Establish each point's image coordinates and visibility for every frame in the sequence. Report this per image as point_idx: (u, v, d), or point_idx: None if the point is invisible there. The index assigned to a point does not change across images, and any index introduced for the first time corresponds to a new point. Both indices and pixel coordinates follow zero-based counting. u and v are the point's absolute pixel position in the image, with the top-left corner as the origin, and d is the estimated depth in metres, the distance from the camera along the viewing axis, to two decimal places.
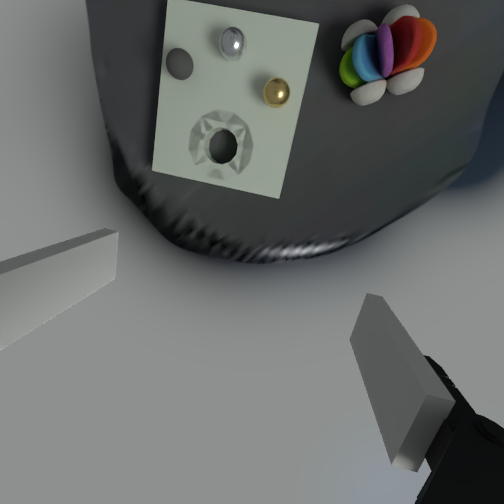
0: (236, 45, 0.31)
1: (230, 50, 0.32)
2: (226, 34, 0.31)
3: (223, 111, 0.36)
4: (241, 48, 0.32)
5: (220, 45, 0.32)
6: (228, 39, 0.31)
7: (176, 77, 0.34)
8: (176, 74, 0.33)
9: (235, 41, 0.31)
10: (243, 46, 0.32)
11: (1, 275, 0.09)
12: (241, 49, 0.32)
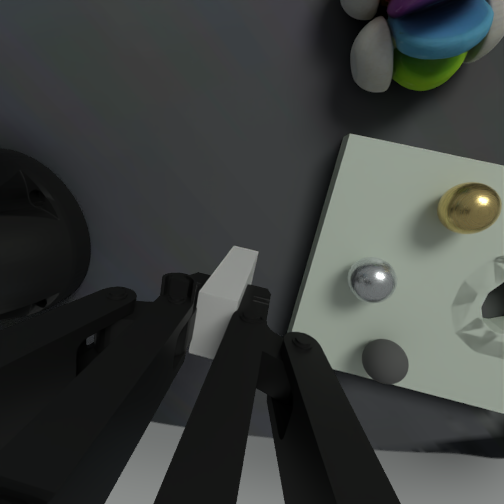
0: (388, 279, 0.18)
1: (392, 288, 0.19)
2: (370, 294, 0.19)
3: (456, 297, 0.21)
4: (389, 269, 0.19)
5: (377, 302, 0.19)
6: (379, 292, 0.18)
7: None
8: (406, 372, 0.20)
9: (383, 280, 0.18)
10: (385, 265, 0.19)
11: (220, 294, 0.11)
12: (389, 269, 0.19)
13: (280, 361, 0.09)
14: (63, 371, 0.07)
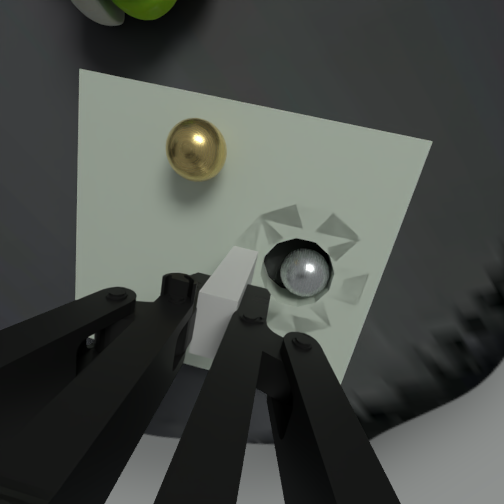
0: None
1: None
2: (324, 286, 0.19)
3: None
4: None
5: None
6: None
7: None
8: None
9: None
10: None
11: (220, 294, 0.11)
12: None
13: (280, 361, 0.09)
14: (63, 371, 0.07)
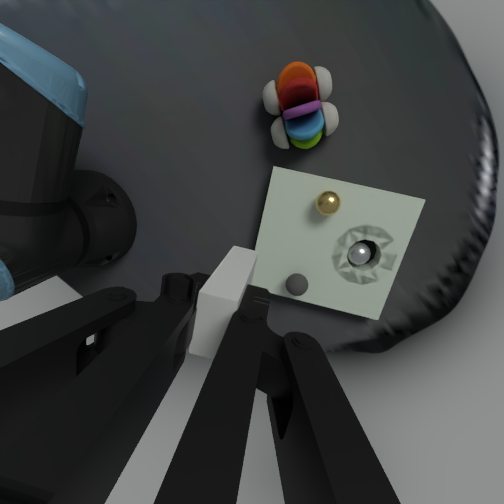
0: None
1: None
2: (365, 260, 0.39)
3: (333, 250, 0.40)
4: (368, 247, 0.40)
5: None
6: (368, 258, 0.40)
7: (307, 288, 0.40)
8: (306, 288, 0.39)
9: (369, 253, 0.39)
10: (367, 246, 0.40)
11: (220, 294, 0.11)
12: (368, 247, 0.40)
13: (280, 361, 0.09)
14: (63, 371, 0.07)
